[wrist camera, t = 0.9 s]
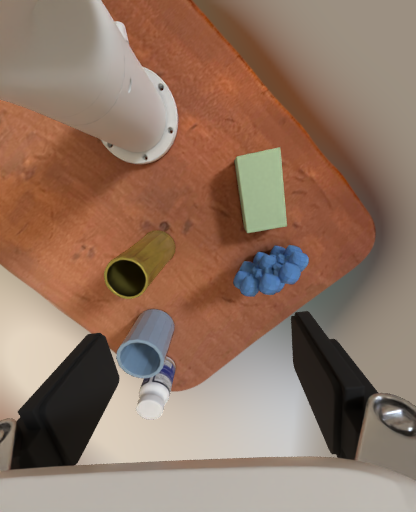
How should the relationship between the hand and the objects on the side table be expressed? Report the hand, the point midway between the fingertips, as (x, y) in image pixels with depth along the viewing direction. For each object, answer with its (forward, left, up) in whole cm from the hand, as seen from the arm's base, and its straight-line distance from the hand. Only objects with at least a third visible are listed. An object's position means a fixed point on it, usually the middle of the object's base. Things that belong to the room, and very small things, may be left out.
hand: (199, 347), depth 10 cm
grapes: (+7, +8, -28) cm, 30 cm away
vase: (+1, -10, -28) cm, 30 cm away
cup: (+17, -15, -28) cm, 36 cm away
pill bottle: (+27, -16, -28) cm, 42 cm away
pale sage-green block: (-5, +8, -28) cm, 30 cm away
